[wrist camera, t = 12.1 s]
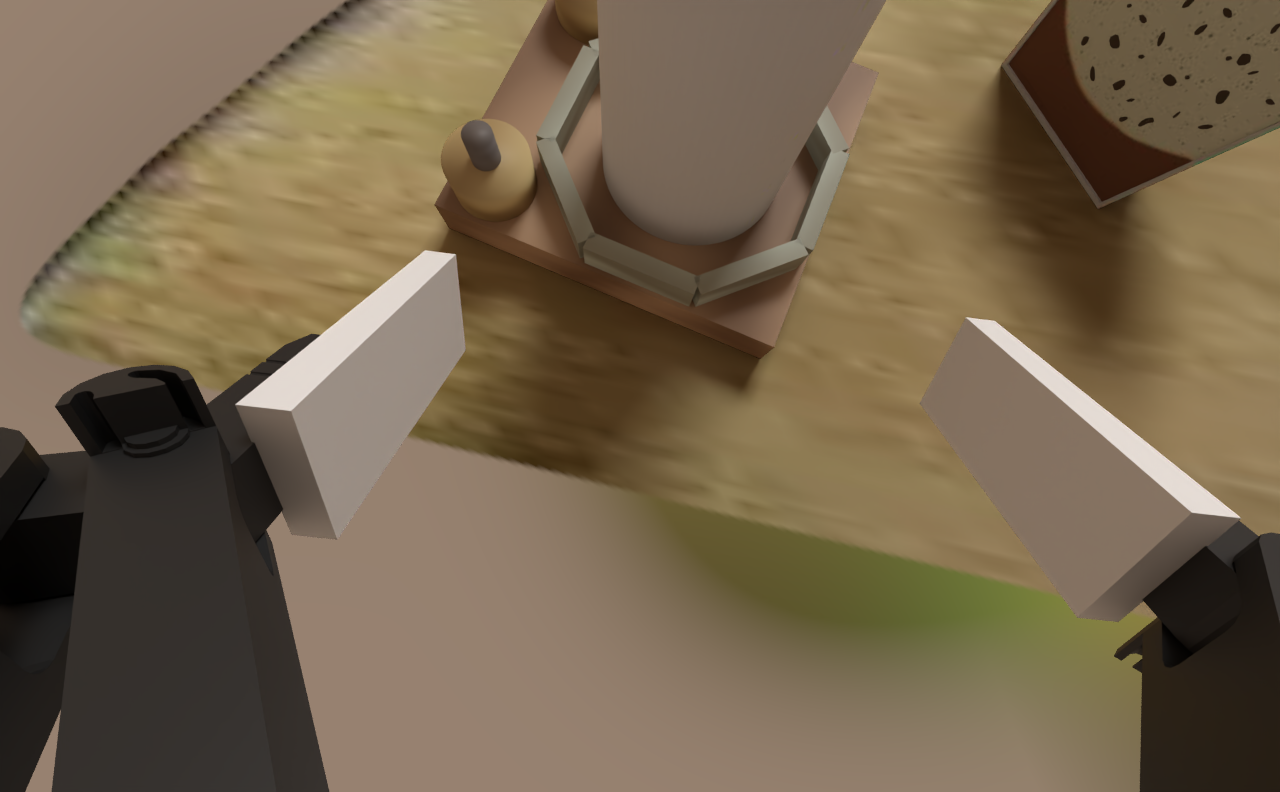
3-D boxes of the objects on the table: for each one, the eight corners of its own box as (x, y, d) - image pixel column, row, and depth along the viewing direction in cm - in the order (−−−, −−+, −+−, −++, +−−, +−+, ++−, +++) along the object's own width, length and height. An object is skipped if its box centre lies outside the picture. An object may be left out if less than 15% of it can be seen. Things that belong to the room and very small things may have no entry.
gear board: (858, 103, 26) (918, 10, 21) (760, 358, 23) (801, 323, 18) (578, -11, 26) (569, -131, 21) (449, 228, 24) (403, 157, 18)
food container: (1204, 188, 26) (1560, 11, 16) (1114, 233, 25) (1430, 76, 16) (1074, 6, 28) (1327, -255, 18) (986, 43, 27) (1199, -208, 17)
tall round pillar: (806, 129, 23) (1007, -236, 11) (736, 275, 22) (882, 31, 10) (650, 56, 23) (687, -377, 12) (571, 196, 22) (521, -135, 10)
